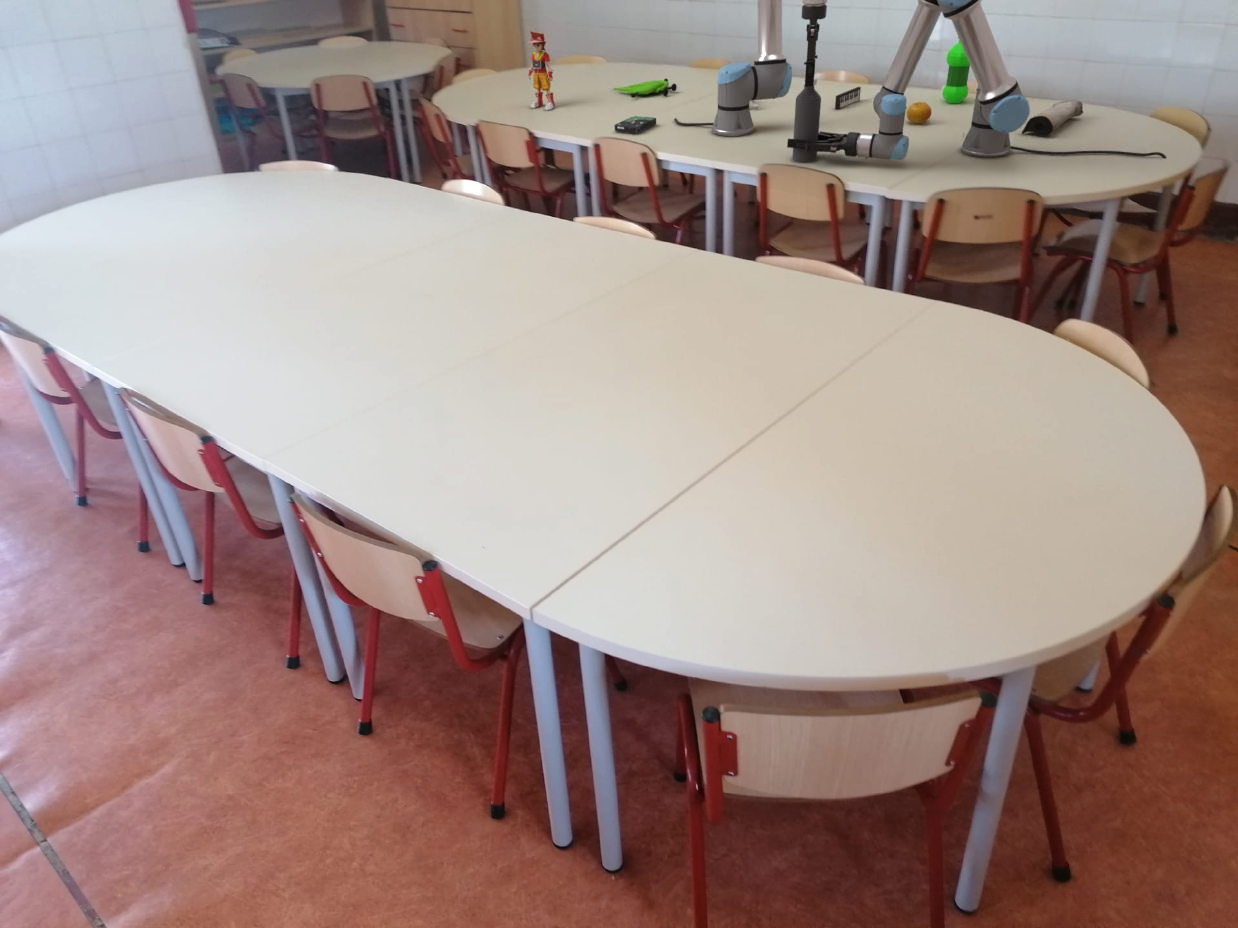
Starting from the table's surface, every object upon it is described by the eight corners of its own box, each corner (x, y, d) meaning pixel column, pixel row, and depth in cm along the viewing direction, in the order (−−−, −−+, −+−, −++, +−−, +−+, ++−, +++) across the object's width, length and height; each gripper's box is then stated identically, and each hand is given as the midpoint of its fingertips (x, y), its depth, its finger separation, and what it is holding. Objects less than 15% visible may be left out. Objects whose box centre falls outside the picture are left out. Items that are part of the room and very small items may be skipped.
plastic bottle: (973, 101, 354) (984, 32, 339) (955, 106, 349) (966, 36, 335) (952, 97, 361) (962, 29, 346) (934, 102, 356) (944, 33, 342)
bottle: (819, 156, 305) (825, 79, 291) (812, 163, 299) (818, 84, 285) (796, 154, 308) (801, 77, 294) (789, 161, 302) (793, 83, 288)
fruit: (901, 115, 329) (915, 95, 326) (903, 118, 337) (916, 98, 334) (920, 127, 328) (935, 107, 325) (921, 130, 336) (935, 111, 333)
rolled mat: (1050, 105, 331) (1074, 88, 323) (1064, 126, 331) (1088, 109, 323) (1017, 127, 314) (1042, 110, 305) (1032, 149, 314) (1057, 132, 306)
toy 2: (686, 85, 398) (631, 84, 414) (685, 72, 395) (629, 72, 411) (651, 104, 381) (596, 103, 397) (650, 92, 378) (594, 91, 394)
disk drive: (637, 135, 339) (656, 124, 349) (637, 127, 338) (656, 117, 348) (614, 132, 344) (634, 122, 354) (613, 125, 343) (633, 115, 353)
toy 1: (525, 109, 381) (517, 32, 364) (534, 104, 388) (527, 28, 371) (550, 110, 377) (543, 32, 360) (559, 105, 384) (553, 28, 367)
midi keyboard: (837, 109, 354) (838, 96, 352) (834, 109, 355) (835, 95, 352) (859, 100, 365) (861, 87, 362) (857, 99, 366) (858, 86, 363)
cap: (818, 83, 291) (818, 77, 290) (814, 86, 288) (814, 80, 287) (804, 82, 293) (805, 76, 292) (800, 85, 289) (800, 79, 288)
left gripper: (803, 0, 285) (798, 76, 298) (800, 10, 270) (796, 90, 283) (827, -1, 284) (821, 76, 297) (826, 9, 268) (820, 90, 281)
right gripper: (849, 165, 288) (781, 159, 297) (866, 147, 303) (800, 142, 312) (851, 141, 283) (782, 136, 292) (868, 125, 298) (802, 120, 307)
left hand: (809, 83), depth 290 cm, fingers open, 7 cm apart
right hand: (792, 139), depth 302 cm, fingers closed on bottle, 8 cm apart
